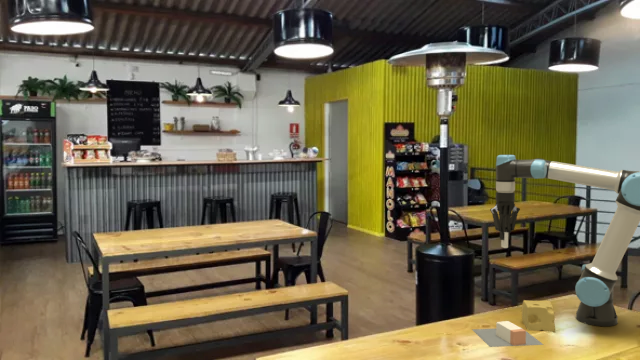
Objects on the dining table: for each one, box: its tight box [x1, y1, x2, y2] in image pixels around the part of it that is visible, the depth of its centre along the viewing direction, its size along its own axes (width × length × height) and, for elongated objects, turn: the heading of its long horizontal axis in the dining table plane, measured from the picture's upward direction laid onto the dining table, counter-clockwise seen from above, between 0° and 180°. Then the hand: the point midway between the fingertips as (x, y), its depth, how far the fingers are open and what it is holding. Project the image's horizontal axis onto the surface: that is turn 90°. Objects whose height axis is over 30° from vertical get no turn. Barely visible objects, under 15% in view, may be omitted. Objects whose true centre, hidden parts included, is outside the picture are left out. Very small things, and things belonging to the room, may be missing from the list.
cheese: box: [521, 299, 556, 334], centre depth 211 cm, size 10×11×10 cm
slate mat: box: [471, 327, 545, 348], centre depth 200 cm, size 20×18×1 cm
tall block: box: [495, 320, 527, 347], centre depth 197 cm, size 5×5×11 cm
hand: (504, 247), depth 225 cm, fingers closed
